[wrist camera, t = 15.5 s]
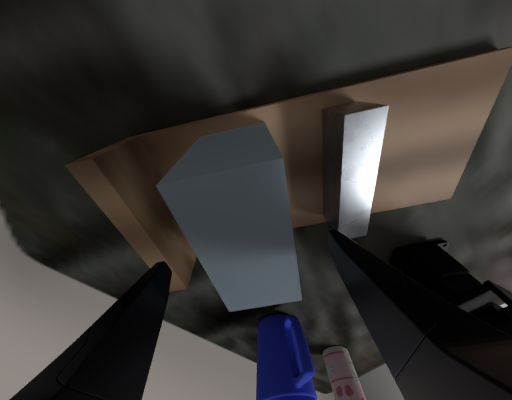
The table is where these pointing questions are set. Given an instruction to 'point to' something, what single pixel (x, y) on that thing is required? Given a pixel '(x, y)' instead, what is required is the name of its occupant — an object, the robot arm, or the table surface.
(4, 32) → the table surface
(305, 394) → the mug
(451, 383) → the robot arm
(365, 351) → the table surface
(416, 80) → the shelf
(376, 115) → the grey rectangular block
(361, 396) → the beverage can
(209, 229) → the blue-grey rectangular block
